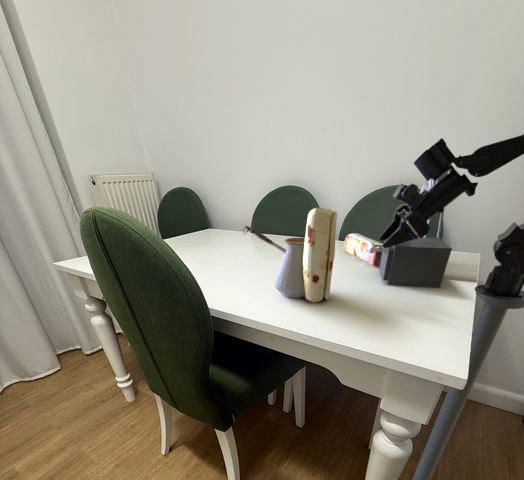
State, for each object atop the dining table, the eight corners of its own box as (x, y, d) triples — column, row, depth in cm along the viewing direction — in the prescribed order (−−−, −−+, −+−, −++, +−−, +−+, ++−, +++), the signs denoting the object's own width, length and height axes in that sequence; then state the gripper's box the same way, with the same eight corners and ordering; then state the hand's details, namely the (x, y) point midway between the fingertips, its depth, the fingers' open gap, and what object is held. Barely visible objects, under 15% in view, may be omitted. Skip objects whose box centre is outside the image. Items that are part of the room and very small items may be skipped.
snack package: (390, 266, 92) (395, 243, 88) (371, 267, 91) (375, 245, 87) (358, 251, 110) (361, 232, 106) (342, 252, 108) (344, 233, 105)
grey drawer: (365, 279, 79) (370, 249, 75) (363, 267, 88) (368, 240, 84) (430, 282, 75) (439, 251, 71) (421, 269, 85) (428, 241, 80)
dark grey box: (387, 284, 77) (395, 246, 72) (382, 270, 88) (389, 236, 83) (439, 287, 75) (452, 248, 69) (428, 272, 85) (438, 237, 80)
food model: (308, 290, 75) (313, 205, 65) (333, 293, 73) (343, 205, 62) (296, 304, 68) (300, 210, 57) (324, 308, 65) (334, 210, 55)
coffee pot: (325, 289, 75) (331, 228, 67) (306, 304, 67) (310, 236, 59) (258, 277, 86) (256, 222, 78) (234, 288, 78) (229, 229, 70)
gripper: (412, 169, 76) (362, 215, 84) (428, 169, 61) (364, 225, 69) (436, 202, 78) (385, 244, 87) (457, 211, 63) (392, 260, 71)
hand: (381, 242), depth 78 cm, fingers open, 9 cm apart
